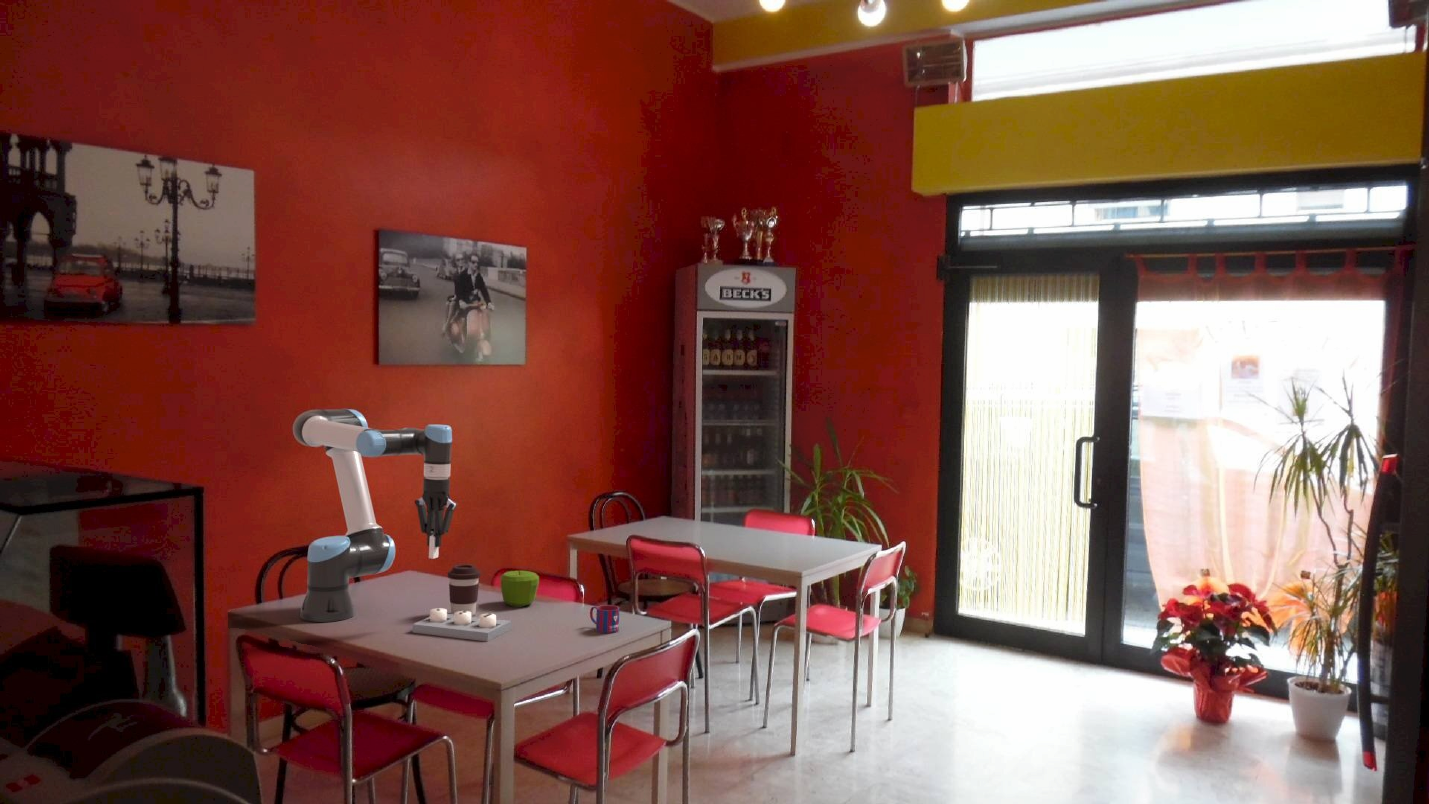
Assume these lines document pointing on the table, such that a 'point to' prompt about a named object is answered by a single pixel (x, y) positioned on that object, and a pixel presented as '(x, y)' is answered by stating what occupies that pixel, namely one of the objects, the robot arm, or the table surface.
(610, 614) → the cup
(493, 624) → the button
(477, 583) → the coffee cup
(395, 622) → the table surface
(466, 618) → the button
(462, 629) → the console
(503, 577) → the apple
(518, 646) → the table surface
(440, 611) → the button
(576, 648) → the table surface
